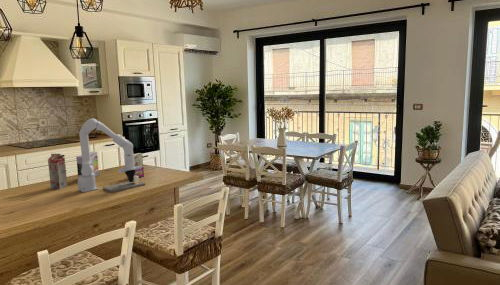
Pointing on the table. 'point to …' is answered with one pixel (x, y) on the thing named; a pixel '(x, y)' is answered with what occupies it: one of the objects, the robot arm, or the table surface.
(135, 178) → the fader knob
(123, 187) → the fader panel
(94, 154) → the cake pan box
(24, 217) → the table surface
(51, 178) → the juice carton
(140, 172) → the candy bar box
